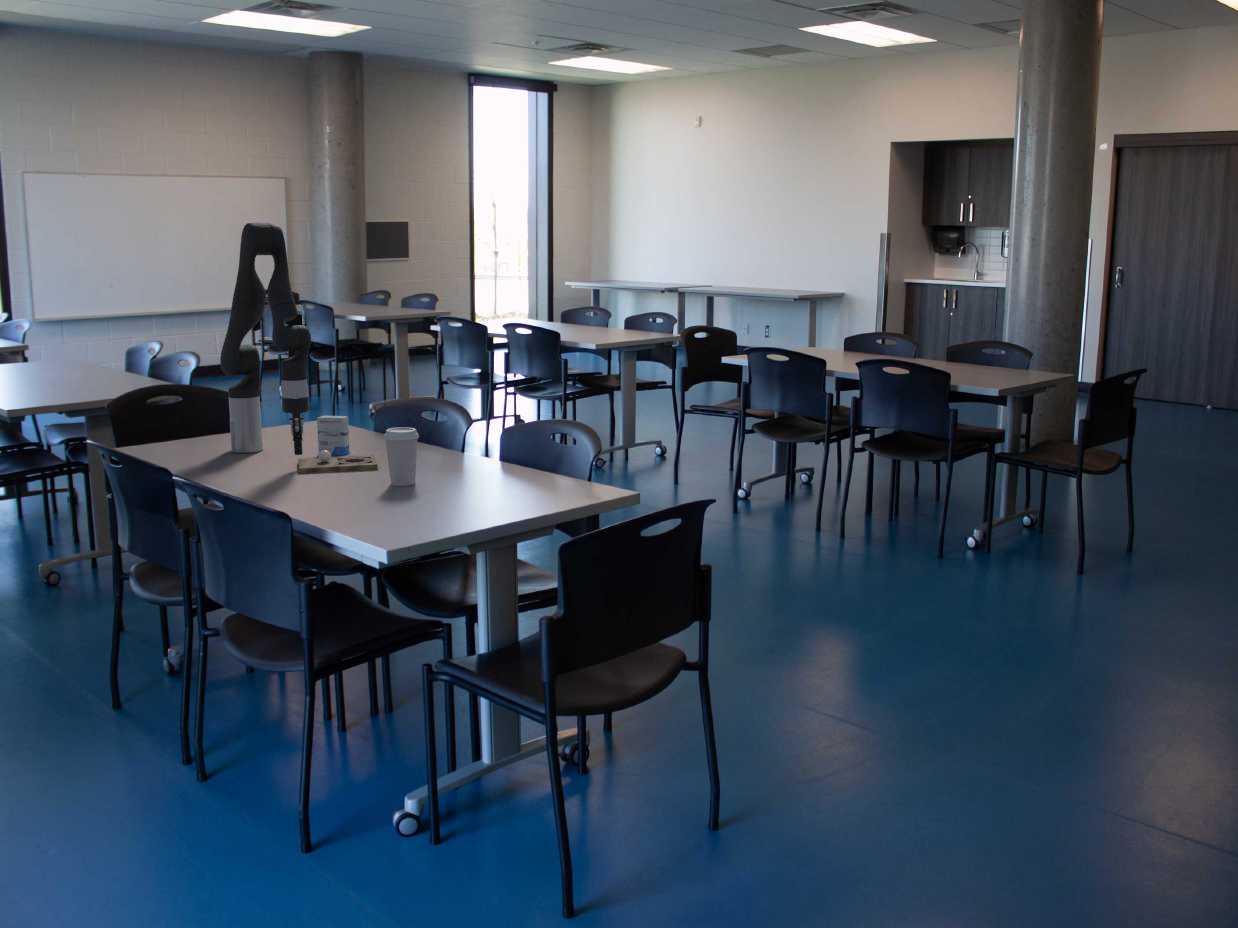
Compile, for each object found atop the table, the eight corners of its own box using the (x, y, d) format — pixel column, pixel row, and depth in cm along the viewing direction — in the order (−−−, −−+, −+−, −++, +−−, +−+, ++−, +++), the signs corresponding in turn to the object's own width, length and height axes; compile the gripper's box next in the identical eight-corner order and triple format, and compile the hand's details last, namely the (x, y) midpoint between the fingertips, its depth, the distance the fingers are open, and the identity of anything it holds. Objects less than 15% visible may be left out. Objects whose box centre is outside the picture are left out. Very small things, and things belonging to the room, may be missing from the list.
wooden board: (299, 473, 310) (298, 468, 310) (298, 463, 324) (298, 458, 324) (377, 469, 316) (377, 464, 316) (373, 459, 330) (373, 454, 330)
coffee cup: (427, 481, 301) (425, 428, 298) (409, 488, 292) (407, 433, 289) (396, 478, 304) (394, 426, 301) (378, 485, 295) (376, 431, 292)
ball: (319, 463, 317) (318, 451, 316) (318, 461, 320) (318, 449, 319) (331, 462, 318) (330, 451, 317) (331, 460, 321) (330, 449, 320)
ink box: (350, 452, 341) (348, 415, 339) (344, 455, 337) (343, 418, 334) (323, 452, 342) (322, 415, 340) (318, 454, 338) (316, 417, 335)
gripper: (281, 393, 318) (284, 451, 321) (281, 398, 306) (285, 459, 309) (308, 392, 320) (311, 450, 323) (309, 397, 308) (312, 457, 311)
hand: (298, 454), depth 316 cm, fingers closed
